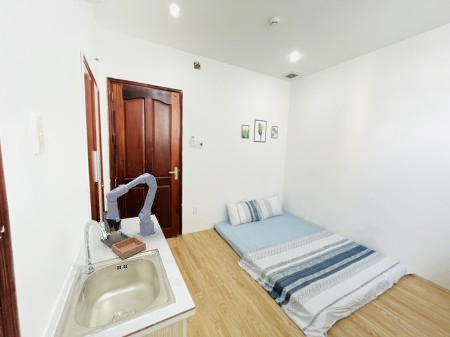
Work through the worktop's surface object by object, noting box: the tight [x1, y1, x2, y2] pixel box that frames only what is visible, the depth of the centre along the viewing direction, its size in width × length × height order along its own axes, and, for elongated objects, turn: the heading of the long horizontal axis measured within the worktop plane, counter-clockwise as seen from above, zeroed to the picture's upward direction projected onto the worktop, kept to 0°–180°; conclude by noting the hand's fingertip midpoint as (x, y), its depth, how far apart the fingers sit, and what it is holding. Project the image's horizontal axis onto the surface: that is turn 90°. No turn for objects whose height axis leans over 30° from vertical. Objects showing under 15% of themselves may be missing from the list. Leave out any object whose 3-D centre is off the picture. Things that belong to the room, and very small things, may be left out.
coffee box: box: [102, 208, 122, 234], centre depth 143 cm, size 9×6×16 cm
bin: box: [111, 236, 147, 260], centre depth 118 cm, size 14×14×4 cm
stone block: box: [109, 230, 121, 243], centre depth 128 cm, size 5×5×5 cm
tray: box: [99, 230, 132, 249], centre depth 128 cm, size 13×16×2 cm
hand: (114, 229), depth 127 cm, fingers open, 7 cm apart
